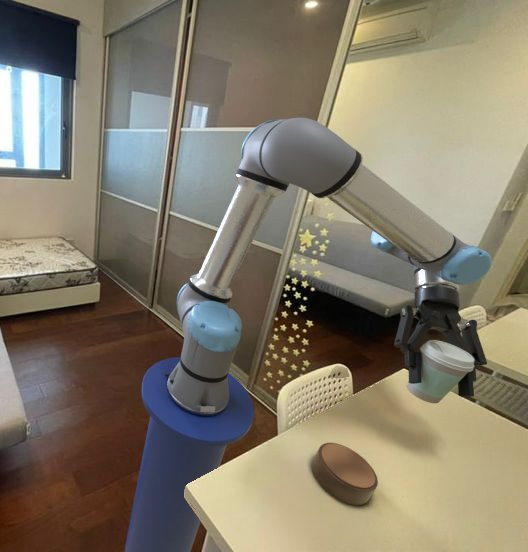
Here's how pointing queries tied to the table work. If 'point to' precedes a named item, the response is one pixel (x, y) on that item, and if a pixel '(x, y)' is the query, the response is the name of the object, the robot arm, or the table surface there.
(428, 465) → the table surface
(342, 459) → the cup stand
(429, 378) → the coffee cup
